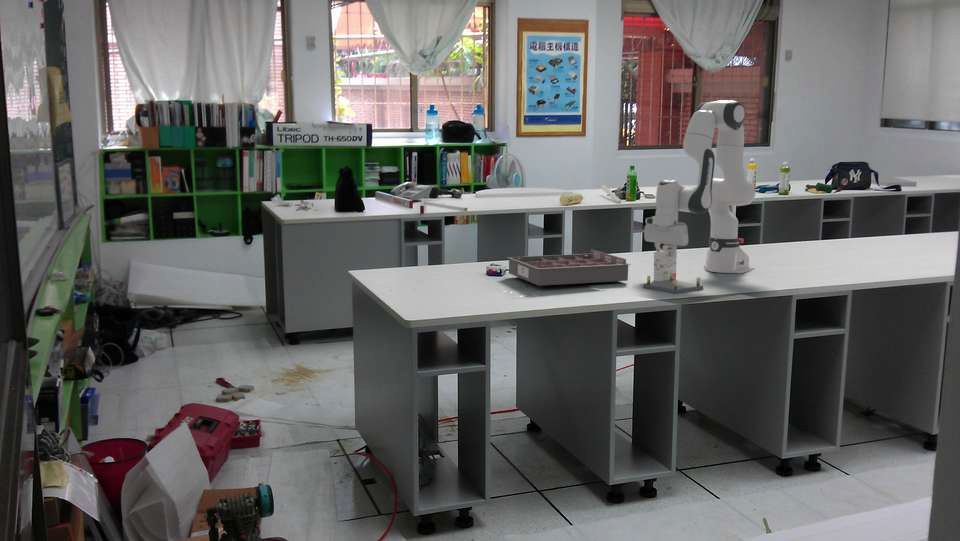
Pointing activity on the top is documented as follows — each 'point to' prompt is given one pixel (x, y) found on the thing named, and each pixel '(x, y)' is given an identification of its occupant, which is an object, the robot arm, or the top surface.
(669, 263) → the ink cartridge box
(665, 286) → the chassis plate
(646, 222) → the robot arm
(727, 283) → the top surface
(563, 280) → the organizer tray
